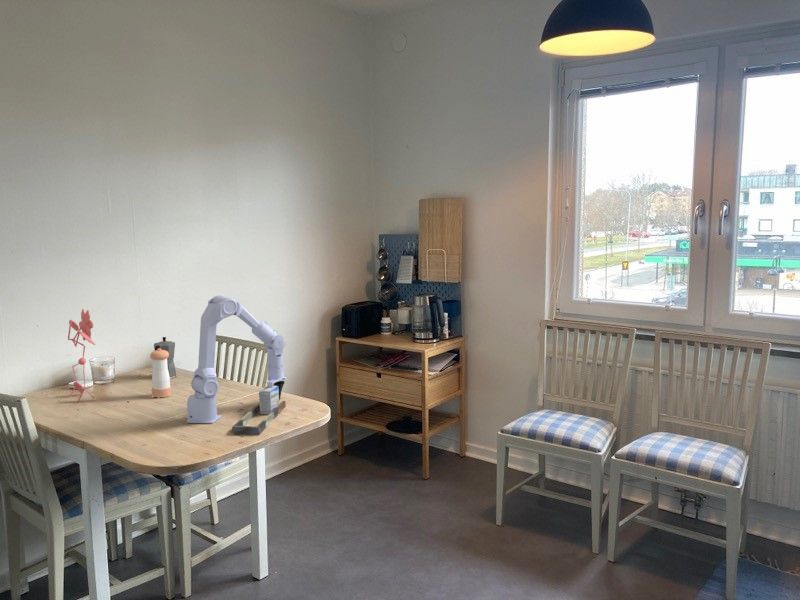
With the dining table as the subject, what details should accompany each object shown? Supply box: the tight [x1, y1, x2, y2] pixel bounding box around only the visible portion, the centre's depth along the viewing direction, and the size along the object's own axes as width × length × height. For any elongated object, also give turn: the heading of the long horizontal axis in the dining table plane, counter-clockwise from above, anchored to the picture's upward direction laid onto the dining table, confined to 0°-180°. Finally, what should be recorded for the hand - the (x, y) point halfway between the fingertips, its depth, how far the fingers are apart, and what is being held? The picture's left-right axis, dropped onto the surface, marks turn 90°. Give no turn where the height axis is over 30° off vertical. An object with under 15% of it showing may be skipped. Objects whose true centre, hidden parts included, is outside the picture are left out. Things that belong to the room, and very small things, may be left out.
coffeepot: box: [153, 336, 177, 377], centre depth 284 cm, size 15×9×18 cm, turn 175°
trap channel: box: [232, 400, 287, 436], centre depth 226 cm, size 9×30×2 cm, turn 173°
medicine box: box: [258, 386, 280, 415], centre depth 236 cm, size 8×4×9 cm, turn 168°
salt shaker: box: [149, 348, 172, 398], centre depth 256 cm, size 7×7×19 cm
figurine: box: [67, 309, 96, 402], centre depth 254 cm, size 15×26×35 cm, turn 43°
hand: (276, 400), depth 245 cm, fingers closed
